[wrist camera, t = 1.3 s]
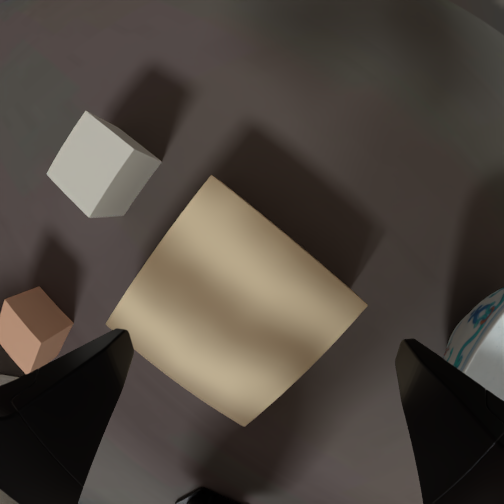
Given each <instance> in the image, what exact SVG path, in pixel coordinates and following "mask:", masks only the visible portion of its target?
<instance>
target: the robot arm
mask: <svg viewBox="0 0 504 504" xmlns="http://www.w3.org/2000/svg"><path fill="white" fill-rule="evenodd" d="M133 355H134V348H133V344H132V341H131V338H130V334H129V332H128V330H126V329H120V328H116V329H114V330H112V331H110V332H108V333H106V334H104V335H102V336H101V337H99V338H97V339H95V340H93V341H91V342H89V343H87V344H85V345H83V346H81V347H79V348H77V349H75V350H73V351H71V352H69V353H67V354H65V355H63V356H62V357H60V358H58V359H56V360H54V361H52V362H50V363H48V364H46V365H44V366H42V367H40V368H39V369H36V370H34V371H32V372H30V373H28V374H26V375H24V376H22V377H20V378H17V379H15V380H13V381H10V382H8V383H6V384H3V385H1V386H0V504H78V501H79V498H80V495H81V492H82V490H83V486H84V484H85V481H86V478H87V475H88V473H89V470H90V467H91V465H92V462H93V460H94V457H95V454H96V452H97V449H98V447H99V444H100V442H101V439H102V437H103V434H104V432H105V429H106V427H107V425H108V422H109V420H110V417H111V415H112V413H113V410H114V408H115V406H116V403H117V401H118V399H119V396H120V394H121V392H122V389H123V386H124V383H125V380H126V377H127V373H128V370H129V367H130V364H131V361H132V358H133ZM395 366H396V371H397V377H398V383H399V389H400V396H401V402H402V406H403V410H404V414H405V418H406V422H407V426H408V430H409V434H410V438H411V442H412V447H413V451H414V456H415V461H416V466H417V471H418V476H419V481H420V487H421V492H422V498H423V504H504V401H503V400H501V399H500V398H499V397H497V396H496V395H494V394H493V393H491V392H490V391H489V390H486V389H485V388H484V387H483V386H482V385H480V384H479V383H477V382H476V381H474V380H473V379H472V378H470V377H469V376H467V375H466V374H465V373H463V372H462V371H460V370H459V369H457V368H456V367H455V366H453V365H452V364H450V363H449V362H447V361H446V360H444V359H443V358H442V357H440V356H439V355H437V354H436V353H434V352H433V351H431V350H430V349H429V348H427V347H426V346H424V345H423V344H421V343H420V342H418V341H417V340H415V339H404V340H402V342H401V344H400V347H399V350H398V353H397V356H396V360H395ZM175 504H239V503H237V502H234V501H232V500H230V499H227V498H225V497H223V496H221V495H219V494H217V493H214V492H212V491H210V490H208V489H206V488H200V489H198V490H196V491H194V492H193V493H191V494H189V495H187V496H186V497H184V498H182V499H180V500H178V501H177V502H175Z"/></svg>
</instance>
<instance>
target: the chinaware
mask: <svg viewBox="0 0 504 504" xmlns="http://www.w3.org/2000/svg"><path fill="white" fill-rule="evenodd" d="M443 359H444V360H446V361H447V362H449V363H450V364H452V365H453V366H455V367H456V368H457V369H459V370H460V371H462V372H463V373H465V374H466V375H467V376H469V377H470V378H472V379H473V380H474V381H476V382H477V383H479V384H480V385H482V386H483V387H484V388H485V389H486V390H489V391H490V392H491V393H493V394H494V395H496V396H497V397H499V398H500V399H501V400H503V401H504V287H503V288H501V289H499V290H497V291H495V292H494V293H492V294H490V295H489V296H487V297H486V298H485V299H483V300H482V301H481V302H480V303H479V304H477V305H476V306H475V307H474V308H473V309H472V310H471V311H470V312H469V314H467V315H466V316H465V317H464V318H463V319H462V320H461V321H460V322H459V323H458V325H457V326H456V328H455V329H454V331H453V332H452V334H451V336H450V339H449V341H448V344H447V348H446V352H445V354H444V357H443Z"/></svg>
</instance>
